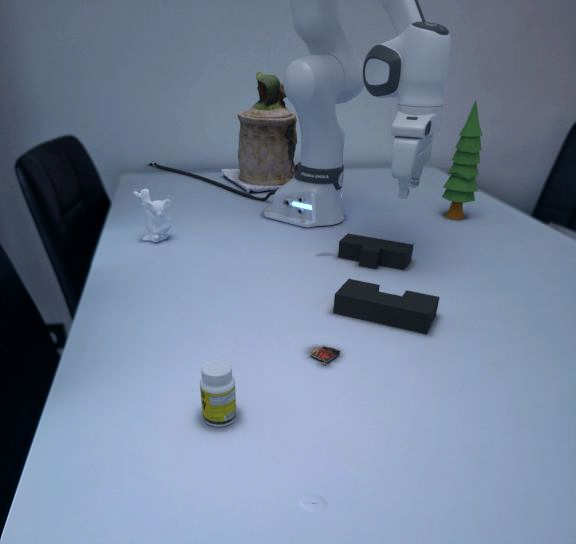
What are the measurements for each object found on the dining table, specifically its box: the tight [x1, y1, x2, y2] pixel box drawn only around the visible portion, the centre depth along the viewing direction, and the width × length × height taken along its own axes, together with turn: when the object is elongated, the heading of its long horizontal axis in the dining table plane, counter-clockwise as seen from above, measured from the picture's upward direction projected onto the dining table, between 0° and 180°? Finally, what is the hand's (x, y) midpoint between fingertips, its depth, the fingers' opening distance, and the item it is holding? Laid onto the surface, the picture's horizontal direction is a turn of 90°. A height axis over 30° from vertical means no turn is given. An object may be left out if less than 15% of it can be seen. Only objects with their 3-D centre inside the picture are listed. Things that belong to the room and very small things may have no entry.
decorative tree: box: [441, 99, 483, 221], centre depth 144 cm, size 10×9×30 cm
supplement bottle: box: [199, 359, 238, 428], centre depth 72 cm, size 5×5×8 cm
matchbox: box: [309, 345, 341, 366], centre depth 88 cm, size 5×5×1 cm
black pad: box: [337, 232, 415, 271], centre depth 122 cm, size 16×8×4 cm, turn 65°
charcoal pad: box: [332, 278, 441, 335], centre depth 100 cm, size 18×8×4 cm, turn 65°
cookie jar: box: [221, 70, 298, 194], centre depth 170 cm, size 25×25×32 cm
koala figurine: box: [133, 188, 173, 243], centre depth 128 cm, size 8×7×12 cm
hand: (408, 192), depth 114 cm, fingers open, 8 cm apart
